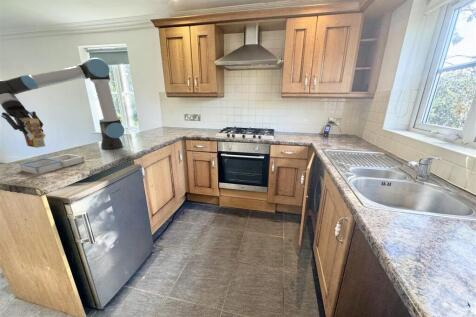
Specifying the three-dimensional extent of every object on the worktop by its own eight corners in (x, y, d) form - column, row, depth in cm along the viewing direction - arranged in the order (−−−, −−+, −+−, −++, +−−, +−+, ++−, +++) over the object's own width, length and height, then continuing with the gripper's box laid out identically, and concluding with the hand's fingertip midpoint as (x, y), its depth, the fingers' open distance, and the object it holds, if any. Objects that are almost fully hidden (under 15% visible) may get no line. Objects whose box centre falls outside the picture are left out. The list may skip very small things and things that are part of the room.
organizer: (69, 158, 130) (68, 152, 128) (84, 161, 125) (83, 155, 124) (21, 170, 108) (19, 163, 107) (37, 174, 104) (35, 167, 102)
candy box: (46, 146, 108) (38, 118, 103) (36, 148, 104) (28, 119, 99) (36, 144, 111) (28, 117, 106) (26, 146, 107) (18, 118, 102)
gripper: (30, 108, 114) (55, 139, 114) (-14, 109, 99) (15, 145, 98) (33, 99, 111) (59, 131, 111) (-12, 99, 95) (18, 135, 95)
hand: (38, 137), depth 105 cm, fingers closed on candy box, 4 cm apart
